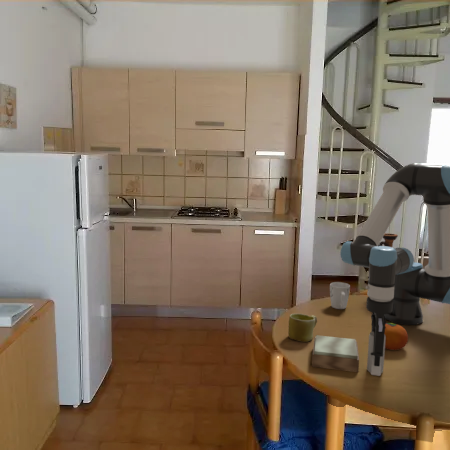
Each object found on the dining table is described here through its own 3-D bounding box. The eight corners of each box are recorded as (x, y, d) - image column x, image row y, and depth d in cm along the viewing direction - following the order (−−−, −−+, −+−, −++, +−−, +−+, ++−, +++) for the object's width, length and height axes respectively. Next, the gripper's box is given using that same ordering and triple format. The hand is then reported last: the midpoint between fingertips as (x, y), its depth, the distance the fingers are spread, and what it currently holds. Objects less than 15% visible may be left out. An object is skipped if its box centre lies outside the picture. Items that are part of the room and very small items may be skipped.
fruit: (407, 356, 150) (409, 333, 149) (374, 351, 154) (376, 328, 153) (406, 343, 160) (408, 322, 159) (375, 339, 164) (377, 318, 162)
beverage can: (364, 367, 142) (366, 331, 140) (379, 367, 142) (381, 331, 140) (370, 375, 137) (373, 337, 135) (385, 374, 137) (388, 337, 135)
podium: (356, 352, 152) (357, 338, 151) (358, 372, 139) (359, 356, 138) (314, 348, 155) (314, 334, 154) (312, 366, 142) (312, 351, 141)
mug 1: (298, 342, 155) (298, 312, 158) (281, 340, 164) (282, 312, 167) (326, 343, 161) (326, 314, 163) (309, 341, 170) (309, 314, 172)
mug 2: (352, 312, 191) (354, 289, 189) (332, 312, 191) (333, 289, 189) (345, 303, 202) (347, 282, 200) (327, 303, 202) (328, 281, 200)
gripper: (365, 288, 145) (360, 356, 149) (369, 306, 128) (364, 382, 132) (389, 290, 143) (384, 359, 147) (397, 308, 126) (391, 386, 130)
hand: (374, 370), depth 139 cm, fingers closed on beverage can, 5 cm apart
